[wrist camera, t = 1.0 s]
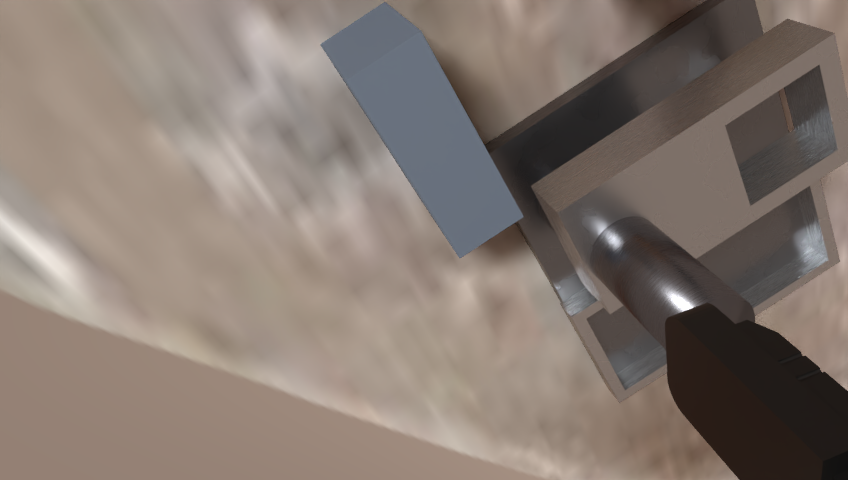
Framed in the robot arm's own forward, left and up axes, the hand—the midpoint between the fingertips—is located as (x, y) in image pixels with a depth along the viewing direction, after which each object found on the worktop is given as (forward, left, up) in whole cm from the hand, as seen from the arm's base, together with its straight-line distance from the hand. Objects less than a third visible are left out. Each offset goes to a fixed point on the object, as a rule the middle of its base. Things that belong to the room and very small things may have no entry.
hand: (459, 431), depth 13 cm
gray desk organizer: (-13, +19, -25) cm, 34 cm away
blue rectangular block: (-3, +5, -25) cm, 25 cm away
